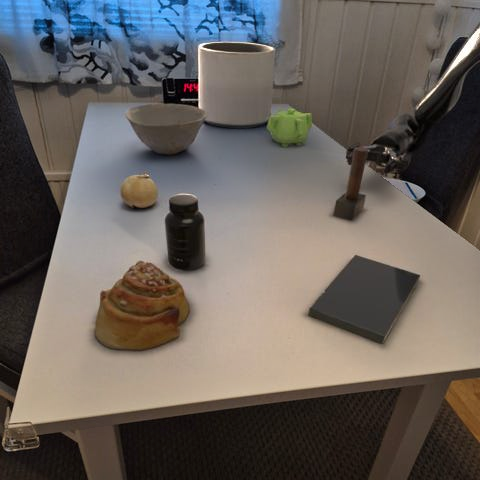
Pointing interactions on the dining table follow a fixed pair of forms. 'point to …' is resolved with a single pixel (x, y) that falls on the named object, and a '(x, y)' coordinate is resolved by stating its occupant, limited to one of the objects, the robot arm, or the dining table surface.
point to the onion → (139, 191)
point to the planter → (236, 83)
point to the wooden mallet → (353, 188)
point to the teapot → (289, 126)
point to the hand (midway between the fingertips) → (368, 164)
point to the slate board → (365, 298)
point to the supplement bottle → (185, 233)
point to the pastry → (141, 309)
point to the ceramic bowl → (166, 126)
